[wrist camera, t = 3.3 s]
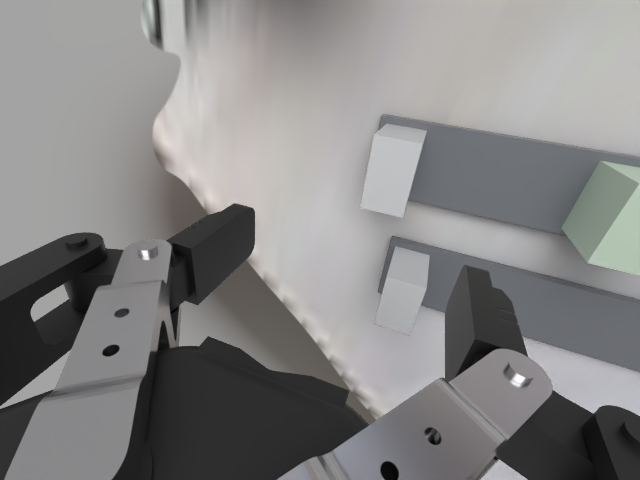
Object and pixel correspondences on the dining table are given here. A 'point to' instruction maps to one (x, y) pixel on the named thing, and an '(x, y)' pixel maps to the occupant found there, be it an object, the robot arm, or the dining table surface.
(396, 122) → the strip
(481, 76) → the dining table surface
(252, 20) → the dining table surface
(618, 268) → the block
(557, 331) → the strip
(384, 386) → the dining table surface
